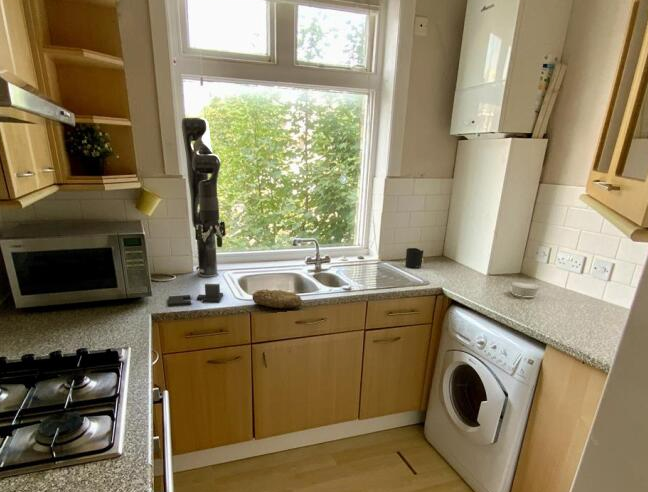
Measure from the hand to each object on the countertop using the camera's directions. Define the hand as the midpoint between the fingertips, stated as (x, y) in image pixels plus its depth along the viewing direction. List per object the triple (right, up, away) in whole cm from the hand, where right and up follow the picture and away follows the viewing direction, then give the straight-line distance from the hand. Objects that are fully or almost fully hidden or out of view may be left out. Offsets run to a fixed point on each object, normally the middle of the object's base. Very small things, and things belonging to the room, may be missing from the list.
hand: (211, 248), depth 172 cm
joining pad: (-3, -20, +11) cm, 23 cm away
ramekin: (+140, -18, +22) cm, 143 cm away
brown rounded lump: (+27, -24, +3) cm, 36 cm away
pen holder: (+101, +1, +69) cm, 122 cm away
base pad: (-16, -22, +6) cm, 27 cm away
